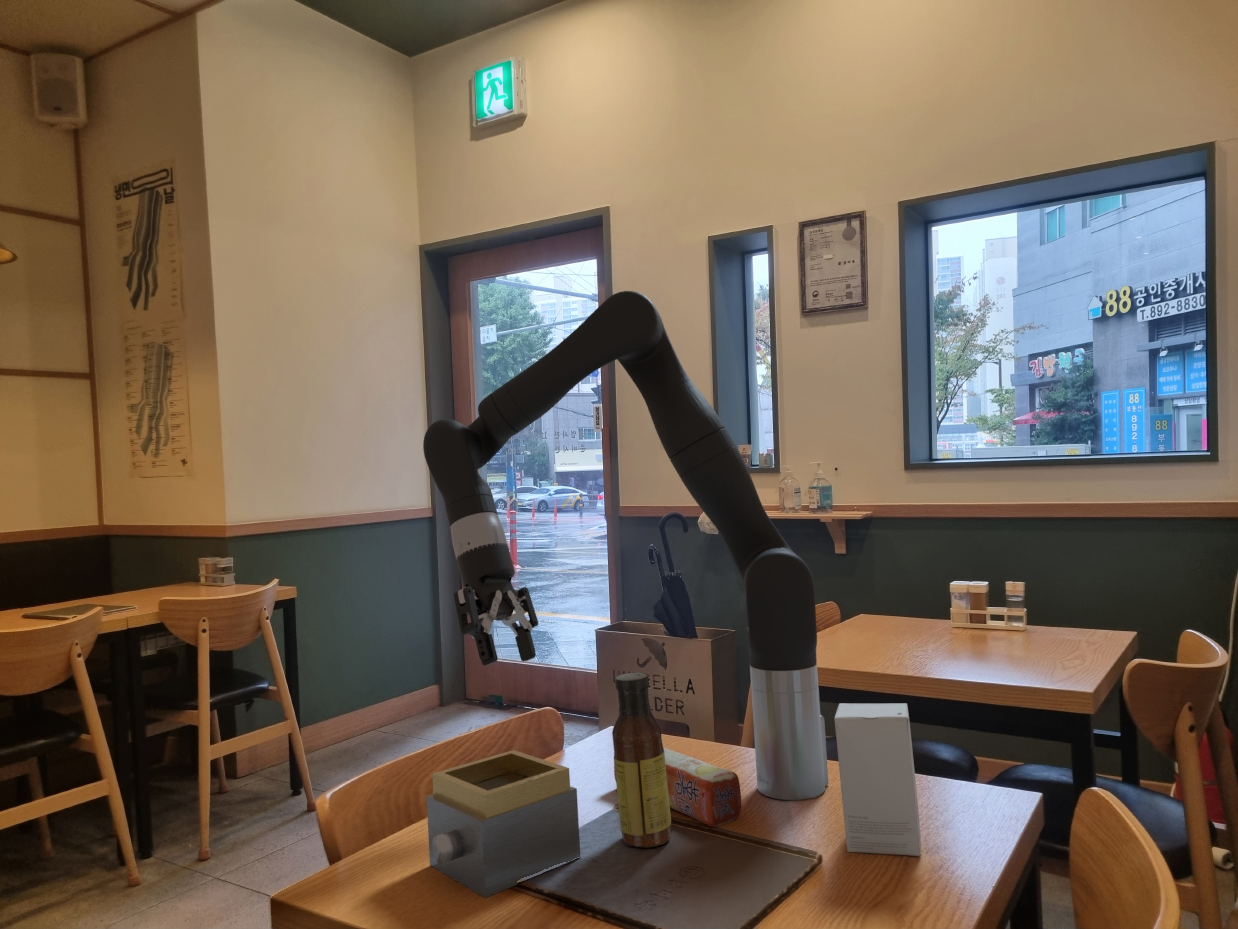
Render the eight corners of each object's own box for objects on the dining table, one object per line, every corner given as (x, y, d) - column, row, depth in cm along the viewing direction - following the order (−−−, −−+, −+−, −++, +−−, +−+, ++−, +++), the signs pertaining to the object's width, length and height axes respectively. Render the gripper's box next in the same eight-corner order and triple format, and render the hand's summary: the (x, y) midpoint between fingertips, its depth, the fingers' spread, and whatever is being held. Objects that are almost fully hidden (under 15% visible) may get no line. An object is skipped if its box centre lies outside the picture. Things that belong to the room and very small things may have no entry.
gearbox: (521, 831, 107) (517, 748, 107) (580, 858, 98) (575, 767, 98) (414, 871, 97) (410, 779, 98) (469, 904, 88) (464, 803, 89)
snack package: (747, 819, 108) (744, 765, 108) (708, 833, 104) (705, 777, 104) (648, 779, 125) (645, 733, 125) (611, 790, 121) (609, 742, 121)
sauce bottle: (673, 829, 105) (663, 669, 106) (671, 850, 99) (660, 680, 100) (621, 830, 106) (612, 671, 106) (615, 851, 99) (606, 682, 100)
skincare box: (920, 836, 99) (911, 702, 99) (921, 860, 92) (911, 717, 93) (847, 830, 101) (838, 700, 102) (843, 853, 95) (833, 714, 96)
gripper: (468, 538, 112) (498, 656, 107) (531, 543, 124) (561, 650, 119) (428, 558, 115) (455, 674, 110) (493, 561, 128) (521, 666, 123)
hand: (510, 661), depth 115 cm, fingers open, 8 cm apart
